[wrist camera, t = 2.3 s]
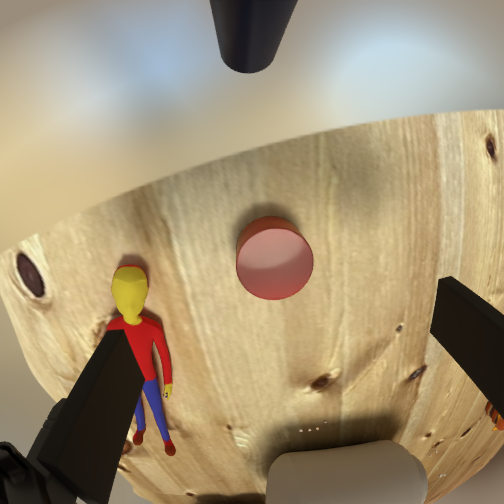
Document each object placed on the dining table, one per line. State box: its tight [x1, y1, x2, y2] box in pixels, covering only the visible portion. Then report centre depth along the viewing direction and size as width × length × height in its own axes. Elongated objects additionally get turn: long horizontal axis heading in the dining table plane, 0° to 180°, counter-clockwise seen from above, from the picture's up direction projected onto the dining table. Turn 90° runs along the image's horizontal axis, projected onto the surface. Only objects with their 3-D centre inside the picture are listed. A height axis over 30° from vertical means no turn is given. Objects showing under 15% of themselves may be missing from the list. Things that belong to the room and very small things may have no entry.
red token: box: [236, 216, 313, 300], centre depth 19 cm, size 5×5×3 cm
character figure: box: [107, 264, 176, 456], centre depth 21 cm, size 6×4×20 cm
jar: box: [266, 421, 446, 504], centre depth 23 cm, size 19×15×25 cm
